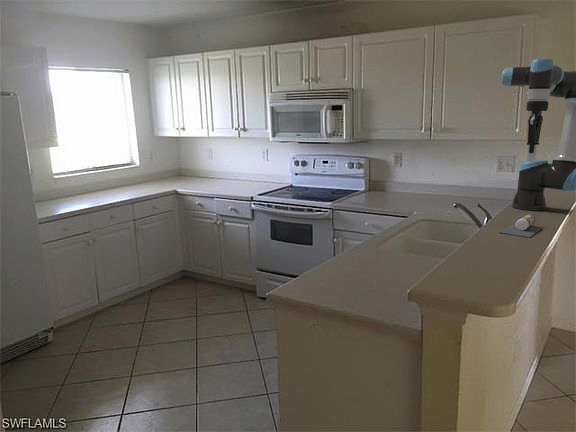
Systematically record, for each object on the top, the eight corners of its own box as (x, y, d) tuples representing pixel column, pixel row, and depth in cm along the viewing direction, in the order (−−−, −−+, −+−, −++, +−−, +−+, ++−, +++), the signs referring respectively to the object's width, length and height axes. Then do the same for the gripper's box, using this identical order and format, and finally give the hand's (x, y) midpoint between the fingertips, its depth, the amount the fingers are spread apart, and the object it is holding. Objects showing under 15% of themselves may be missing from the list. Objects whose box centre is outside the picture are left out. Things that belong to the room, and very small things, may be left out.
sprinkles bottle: (528, 212, 199) (519, 217, 189) (538, 218, 197) (530, 223, 187) (521, 221, 201) (512, 226, 191) (532, 227, 199) (523, 233, 189)
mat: (514, 223, 202) (514, 222, 202) (542, 228, 195) (542, 227, 195) (499, 233, 188) (499, 232, 187) (529, 238, 181) (529, 237, 180)
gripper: (531, 100, 194) (525, 158, 199) (523, 100, 184) (516, 162, 190) (552, 100, 189) (545, 160, 195) (544, 100, 179) (537, 163, 185)
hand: (531, 161), depth 192 cm, fingers closed
